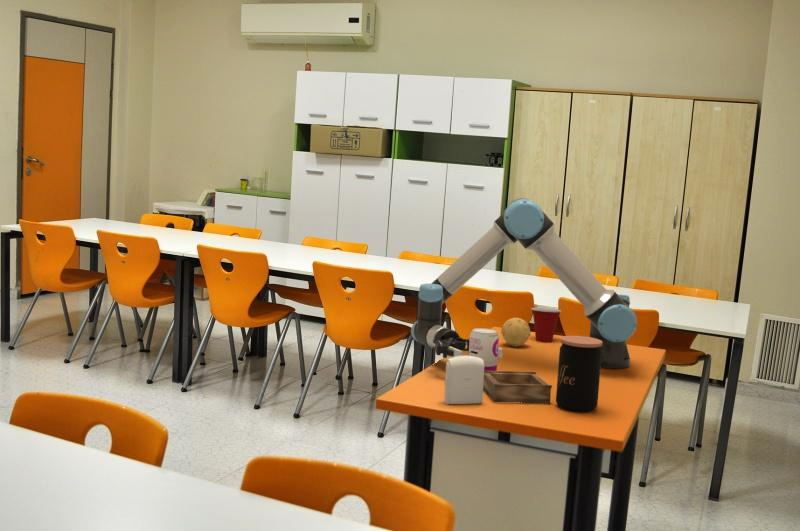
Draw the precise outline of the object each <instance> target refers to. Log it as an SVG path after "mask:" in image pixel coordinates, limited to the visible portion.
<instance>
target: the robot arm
mask: <svg viewBox="0 0 800 531" xmlns="http://www.w3.org/2000/svg"><path fill="white" fill-rule="evenodd" d="M517 241H518V242H519V244H521V245H522V247H523V248H524V249H525V250H532V251H533V252H534V253H535V254H536V255H537V256H538V257H539V259H540V260H541V261H542V262H543V263H544V264H545V266H547V267H548V269H549V270H550V271H551V272H552V273H553V274H554V275H555V276H556V277H557V278H558V279H559V281H560V282H561V283H562V284H563V286H565V287H566V288H567V290H568V291H569V292H570V293H571V294H572V295H573V296H574V297H575V299H576V300H577V301H578V302H579V303H580V304H581V305H582V306H583V308H584V316H585V317H586V318H587V319H588V321H589V322H590V325H589V326H590V328H589V329H590V330H589V337H591V338H595V339H599V340H601V341H602V342H603V343H602V346H601V347H600V349H601V351H602V356H601V368H605V369H627V368H629V367H630V366H631V357H630V353H629V348H628V344H627V340H629V339H630V338H631V337H632V336H633V335H634V333H635V332H636V330H637V328H638V327H637V326H638V319H637V315H636V313H635V311H634V310H633V309H632V308H631V307H630V306H631V301H630V295H627V294H619V293H617V292H616V291H615V290H614V289H606V287H605V286H604V285H603V283H601V282H600V281H599V280H598V278H597V277H596V276H595V275H594V274H593V273H592V272H591V271H590V269H589V268H587V266H586V265H585V264H584V263H583V262H582V261H581V260H580V259H579V258H578V256H577V255H576V253H574V252H573V250H572V249H570V247H569V246H568V245H567V244H566V242H564V241H563V240H562V239H561V237H560V236H559V235H558V234H557V233H556V232H555V224H554V222H553V220H551V219H550V218H549V216H548V215H547V214H546V213H545V212H544V211H543V210H542V208H541V206H540V205H539V204H538V203H537V202H535V201H534V200H532V199H528V198H523V197H522V198H521V197H520V198H517V199H514V200H512V201H511V202H509V204H508V205H507V206H506V208H505V210H504V211H503V212H502V213H501V214H500V216H499V217H497V218H496V219H495V220H494V221H493V226H492V227H491V228H490V229H489V230H488V231H487V232H486V233H485V234H484V235H482V237H480V238H479V239H478V240H477V241H476V242H474V244H472V246H470V248H468V249H467V250H466V251H465V252H464V253H463V254H461V256H460V257H458V258H457V259H456V260H455V261H454V262H453V263H452V264H450V266H449V267H447V268H446V269H445V270H444V271H443V272H442V273H441V274H440V275H438V276H437V278H435V279H434V280H433V281H432V282H431V283H422V284H420V286H419V289H418V290H419V291H418V296H417V297H418V305H417V318H416V319H417V320H416V321H415V322H414V323H413V324H412V327H410V334H411V337H412V338H413V340H414V341H416V342H418V343H419V344H420V345H423V346H426V347H429V348H431V349H433V350H434V351H435V354H436V355H437V356H441V354H442V359H443V358H444V359H447V357H450V358H453V357H457V356H463V352H469V342H470V337H469V338H463V337H461V336H460V335H459V333H458V332H457V331H455V330H454V329H451V328H448V327H446V326H442V311H443V304H444V303H445V302H447V301H448V300H449V299H450V298H451V297H452V296H453V295H454V294H455V293H456V292H457V291H458V290H460V288H462V287H463V286H465V284H466V283H467V282H468V281H470V279H472V278H473V277H474V276H475V275H476V274H477V273H479V272H480V271H481V270H482V269H483V268H484V267H485V266H486V265H488V264H489V262H491V261H492V260H493V259H494V258H495V257H496V256H497V255H498V254H500V253H501V252H502V251H503V250H504V249H505V248H506V247H507V246H508V245H509V244H513V245H514V244H515V243H517ZM503 350H504V349H503V348H501V347H499V346H498V358H499V359H502V358H503Z"/></svg>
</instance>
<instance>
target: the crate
mask: <svg viewBox="0 0 800 531" xmlns="http://www.w3.org/2000/svg"><path fill="white" fill-rule="evenodd" d="M552 388H553V385H552V384H548V383H547V382H546V381H545V380H543V378H541V377H540V376H539V375H537V372H536V371H520V370H519V371H516V370H515V371H514V370H512V371H509V370H497V371H484V381H483V392H484V393H485V392H486V395H487V396H488V397H489V399H490V400H491V401H492V402H493V401H494V402H520V403H519V404H541V403H544V405H545V403H546V404H547V405H548V404H549V405H550V404H551V393H552ZM494 402H493V403H494ZM521 402H522V403H521Z"/></svg>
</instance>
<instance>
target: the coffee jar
mask: <svg viewBox="0 0 800 531" xmlns="http://www.w3.org/2000/svg"><path fill="white" fill-rule="evenodd" d="M560 342H561V346H559V354H558V355H559V356H558V366H557V381H556V392H555V393H556V395H555V402H556V405H557V406H558V408H560V409H561V410H564V411H568V412H572V413H573V412H574V413H581V414H582V413H583V414H585V413H592V412H594V411H595V409H596V408H597V407H598V404H599V403H598V402H599V390H600V389H599V388H600V379H601V368H602V367H601V356H602V351H601V349H600V347H601V346H602V343H603V342H602V341H601V340H599V339H595V338H591V337H590V336H583V335H582V336H581V335H565V336H561V337H560Z"/></svg>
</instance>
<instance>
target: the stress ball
mask: <svg viewBox="0 0 800 531" xmlns="http://www.w3.org/2000/svg"><path fill="white" fill-rule="evenodd" d="M501 336H502V338H503V340H504V342H505V343H507V344H508V345H509V346H511V347H514V346H515V348H518V346H519V347H521V346H522V345H524V344H525V343H527V341H528V340H529V338H530V337H531V328H530V325H529V323H527V321H526V320H524V319H522V318H521V317H512V318H509V319H507V320H506V321H505V322H504V323H503V326H502V327H501Z"/></svg>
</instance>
